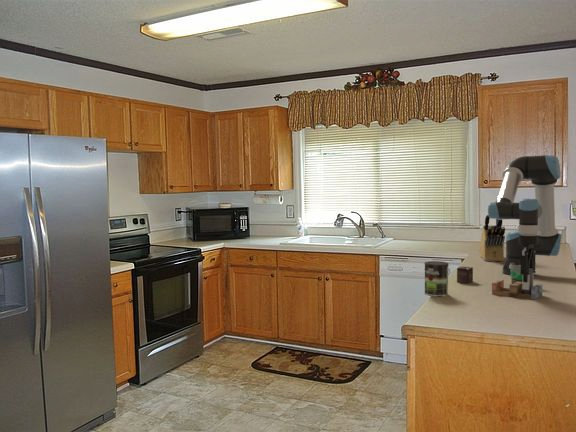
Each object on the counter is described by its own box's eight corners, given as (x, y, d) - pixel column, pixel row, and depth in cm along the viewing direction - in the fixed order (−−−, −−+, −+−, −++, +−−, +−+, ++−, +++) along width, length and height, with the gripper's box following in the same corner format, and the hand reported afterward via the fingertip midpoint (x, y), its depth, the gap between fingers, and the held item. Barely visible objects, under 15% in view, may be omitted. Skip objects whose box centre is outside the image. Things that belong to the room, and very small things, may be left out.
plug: (524, 294, 228) (524, 267, 227) (533, 296, 225) (534, 268, 225) (521, 296, 225) (521, 268, 224) (530, 297, 223) (531, 269, 222)
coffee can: (441, 297, 225) (441, 265, 224) (420, 294, 232) (420, 263, 232) (452, 294, 232) (452, 262, 232) (432, 290, 240) (432, 260, 239)
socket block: (500, 290, 238) (500, 279, 238) (542, 295, 226) (542, 284, 226) (491, 294, 231) (492, 282, 230) (535, 299, 219) (535, 287, 218)
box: (461, 280, 264) (461, 266, 263) (473, 281, 260) (473, 267, 260) (456, 282, 259) (456, 267, 259) (468, 283, 255) (468, 268, 255)
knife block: (486, 263, 317) (487, 212, 315) (478, 255, 351) (479, 209, 350) (506, 263, 315) (506, 212, 313) (496, 255, 349) (496, 209, 347)
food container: (503, 283, 254) (503, 263, 254) (512, 282, 256) (513, 262, 256) (522, 288, 243) (522, 266, 242) (532, 287, 245) (533, 266, 244)
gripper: (526, 232, 233) (525, 284, 234) (512, 235, 220) (511, 290, 221) (544, 233, 228) (543, 286, 229) (531, 236, 215) (530, 292, 216)
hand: (527, 288), depth 225 cm, fingers open, 4 cm apart
